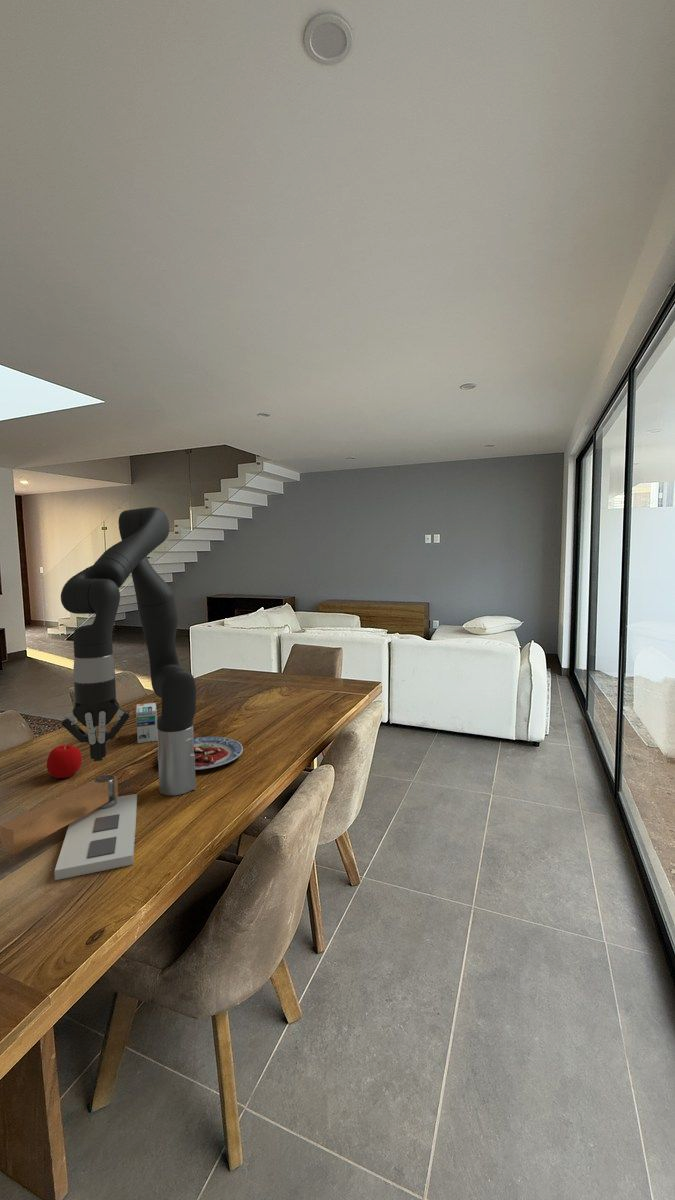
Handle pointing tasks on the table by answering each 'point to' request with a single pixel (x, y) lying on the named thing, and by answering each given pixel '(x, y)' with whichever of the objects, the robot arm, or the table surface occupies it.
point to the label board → (99, 839)
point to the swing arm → (57, 813)
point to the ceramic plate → (215, 751)
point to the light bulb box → (146, 722)
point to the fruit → (64, 761)
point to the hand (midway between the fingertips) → (98, 759)
